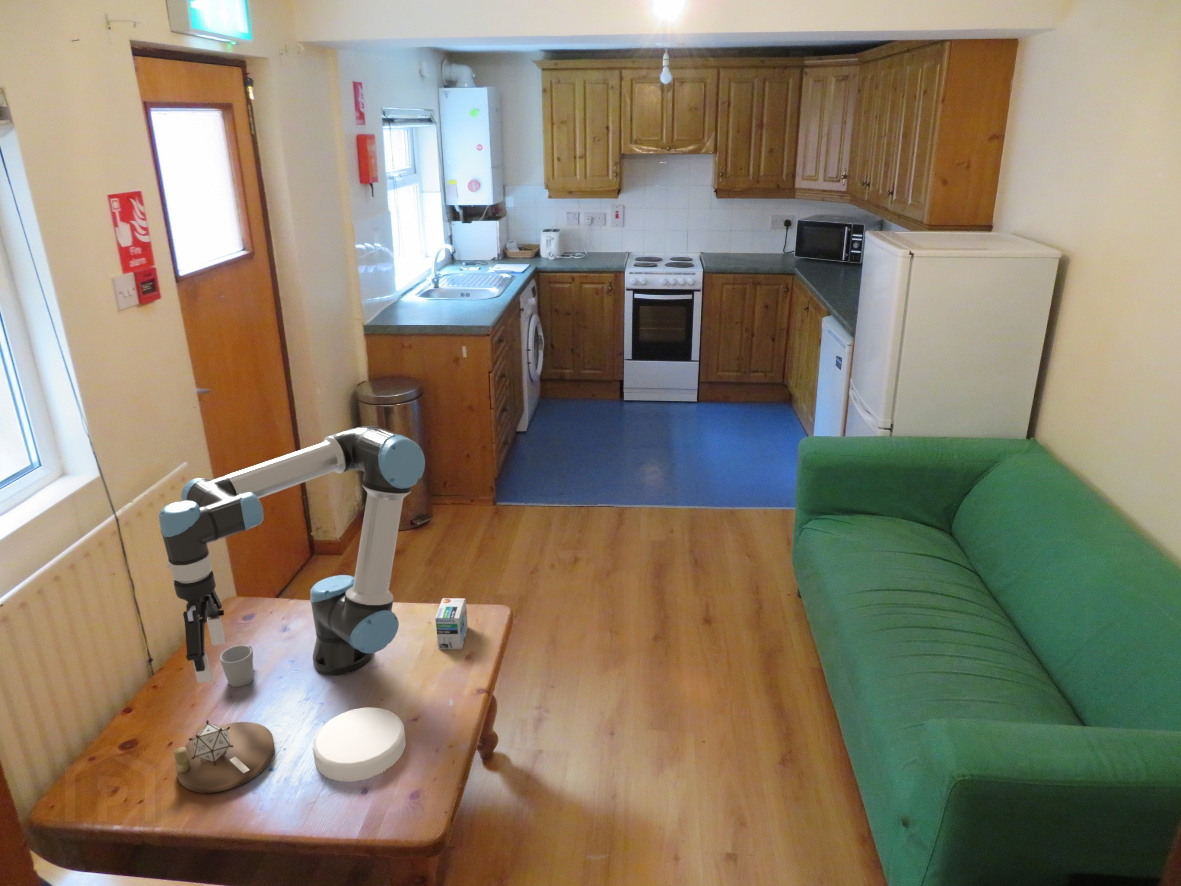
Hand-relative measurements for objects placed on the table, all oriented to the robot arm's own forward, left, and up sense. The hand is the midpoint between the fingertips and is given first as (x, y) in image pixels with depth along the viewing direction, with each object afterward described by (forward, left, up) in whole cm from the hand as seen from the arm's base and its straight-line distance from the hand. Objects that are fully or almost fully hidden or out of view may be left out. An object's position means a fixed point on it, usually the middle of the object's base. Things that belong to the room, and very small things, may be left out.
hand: (212, 661), depth 175 cm
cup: (+3, -29, -25) cm, 39 cm away
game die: (0, +1, -22) cm, 22 cm away
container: (-29, +4, -25) cm, 38 cm away
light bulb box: (-50, -35, -25) cm, 67 cm away
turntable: (0, +2, -25) cm, 25 cm away
